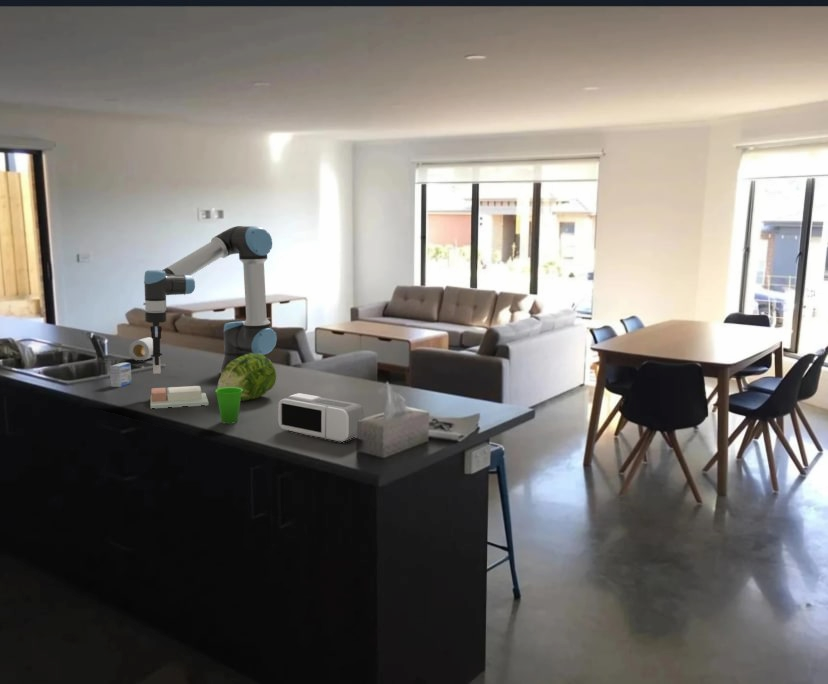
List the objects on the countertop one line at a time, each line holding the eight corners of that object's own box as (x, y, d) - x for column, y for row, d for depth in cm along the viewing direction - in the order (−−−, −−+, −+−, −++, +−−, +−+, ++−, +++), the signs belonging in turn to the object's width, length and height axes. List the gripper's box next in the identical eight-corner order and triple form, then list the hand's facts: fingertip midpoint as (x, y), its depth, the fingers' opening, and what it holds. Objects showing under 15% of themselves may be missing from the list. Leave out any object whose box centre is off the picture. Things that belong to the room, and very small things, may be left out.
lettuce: (205, 401, 275) (204, 360, 269) (250, 381, 294) (251, 342, 287) (238, 417, 267) (238, 375, 260) (282, 396, 285) (284, 356, 279)
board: (205, 395, 282) (205, 392, 282) (208, 405, 269) (208, 402, 268) (150, 399, 276) (150, 395, 275) (150, 408, 262) (150, 405, 262)
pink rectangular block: (165, 395, 277) (165, 387, 276) (166, 400, 269) (166, 392, 268) (151, 396, 275) (151, 388, 275) (151, 401, 267) (151, 393, 266)
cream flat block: (200, 393, 281) (199, 385, 281) (201, 398, 273) (201, 390, 272) (167, 395, 277) (166, 387, 277) (167, 400, 269) (167, 392, 268)
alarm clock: (277, 431, 238) (277, 396, 236) (296, 425, 246) (296, 390, 244) (346, 446, 224) (347, 408, 222) (363, 438, 232) (364, 402, 230)
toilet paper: (140, 356, 358) (139, 336, 356) (159, 357, 357) (159, 337, 355) (129, 360, 348) (128, 339, 347) (149, 361, 347) (148, 340, 345)
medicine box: (120, 387, 293) (119, 366, 292) (110, 386, 294) (109, 365, 293) (131, 383, 301) (130, 362, 299) (121, 382, 302) (121, 362, 300)
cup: (218, 418, 252) (217, 386, 250) (245, 418, 252) (244, 387, 251) (213, 425, 243) (212, 393, 241) (241, 425, 244) (240, 393, 242)
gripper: (145, 309, 280) (146, 370, 284) (145, 313, 268) (146, 376, 272) (165, 309, 283) (166, 369, 286) (166, 313, 271) (167, 376, 274)
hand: (156, 372), depth 279 cm, fingers closed
